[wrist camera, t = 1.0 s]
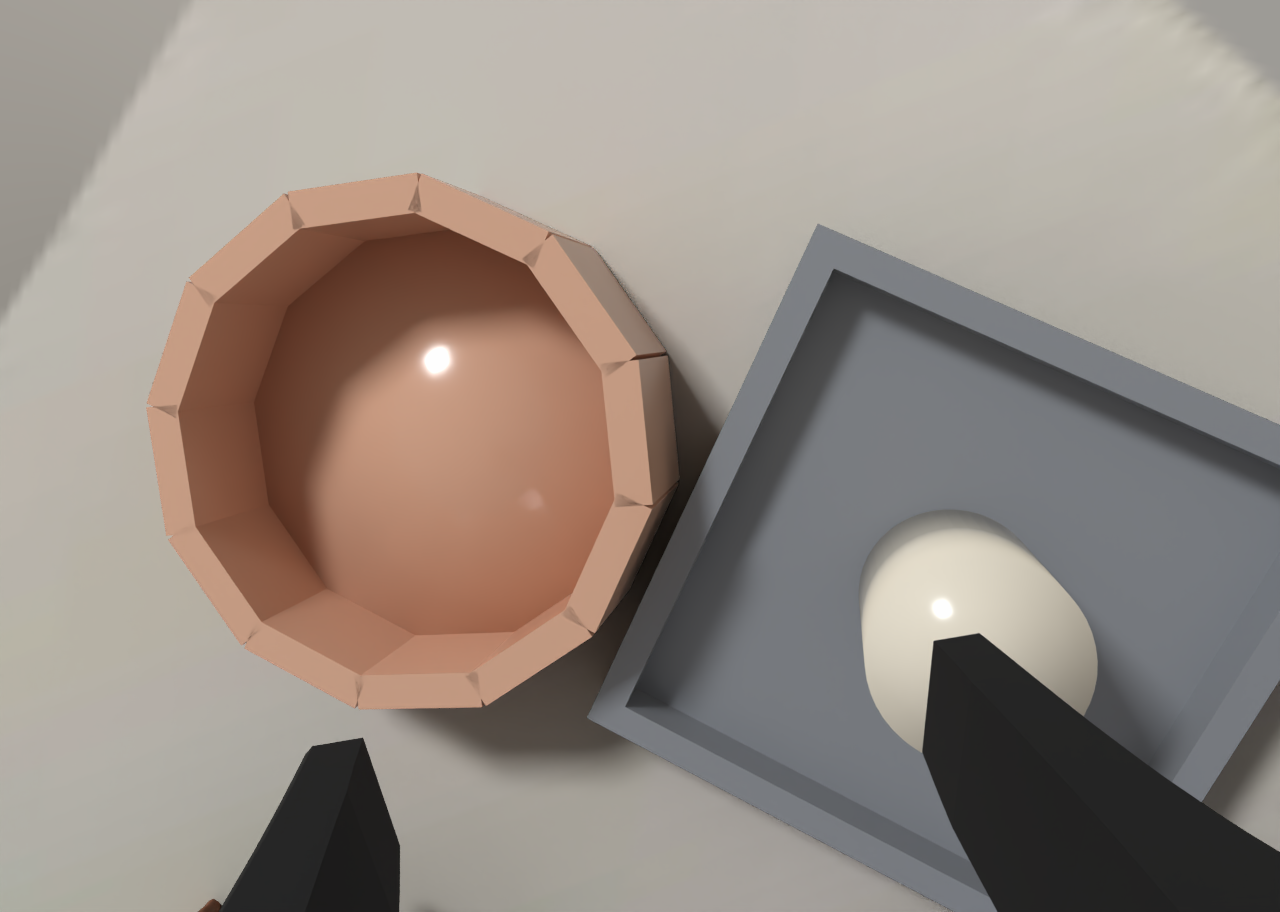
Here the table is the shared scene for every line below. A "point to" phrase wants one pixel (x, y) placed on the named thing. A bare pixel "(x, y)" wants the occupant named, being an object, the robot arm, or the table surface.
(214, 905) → the broken clay pot
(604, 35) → the table surface
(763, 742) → the parts tray
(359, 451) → the terracotta bowl
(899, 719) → the cream rounded cylinder
